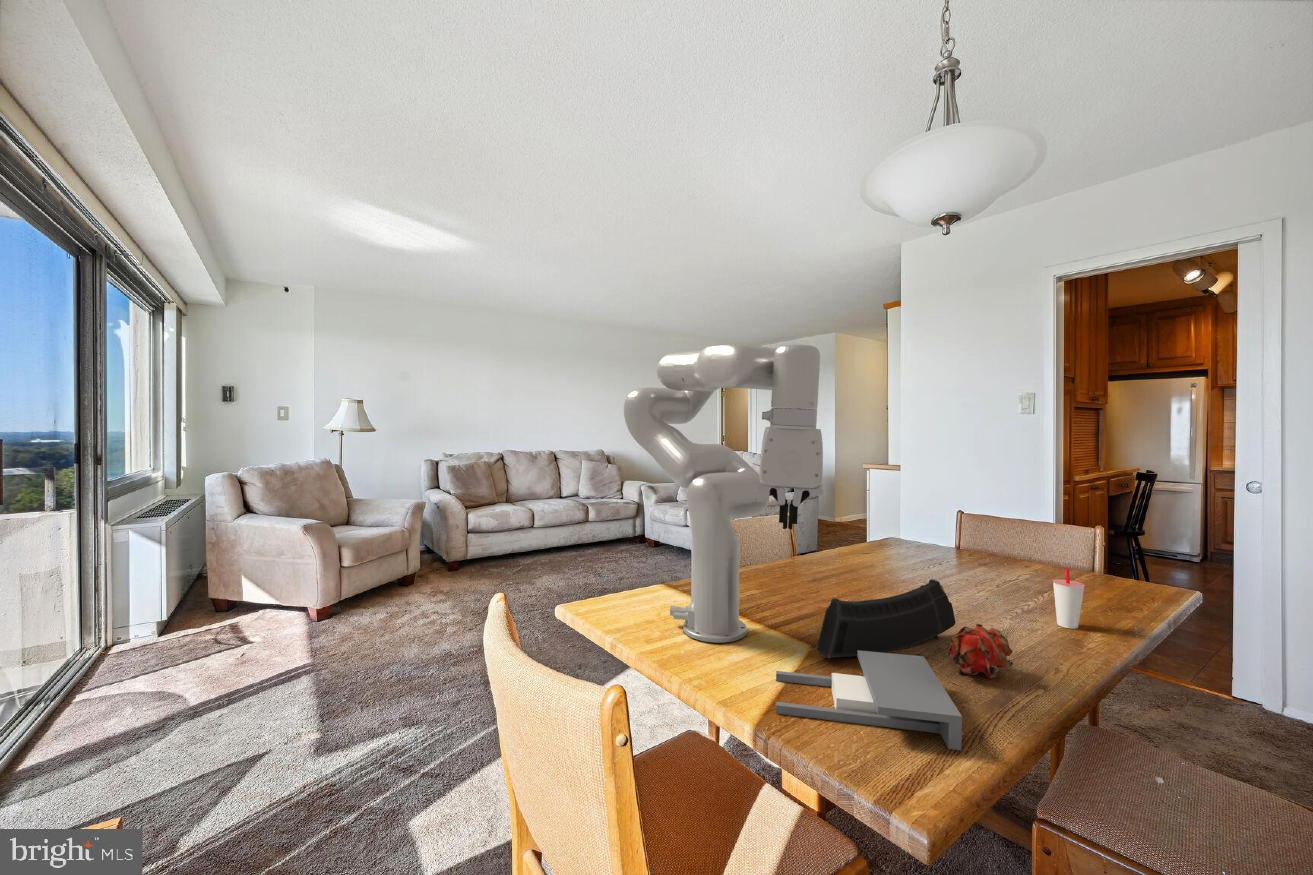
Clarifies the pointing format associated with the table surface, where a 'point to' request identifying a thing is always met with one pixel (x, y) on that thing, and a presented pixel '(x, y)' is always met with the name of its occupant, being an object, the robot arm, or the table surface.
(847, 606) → the magazine
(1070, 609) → the cup
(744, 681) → the table surface
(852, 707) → the white rounded slab
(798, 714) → the dock
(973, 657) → the dragon fruit
